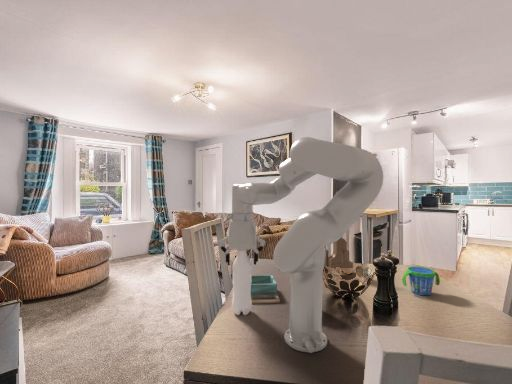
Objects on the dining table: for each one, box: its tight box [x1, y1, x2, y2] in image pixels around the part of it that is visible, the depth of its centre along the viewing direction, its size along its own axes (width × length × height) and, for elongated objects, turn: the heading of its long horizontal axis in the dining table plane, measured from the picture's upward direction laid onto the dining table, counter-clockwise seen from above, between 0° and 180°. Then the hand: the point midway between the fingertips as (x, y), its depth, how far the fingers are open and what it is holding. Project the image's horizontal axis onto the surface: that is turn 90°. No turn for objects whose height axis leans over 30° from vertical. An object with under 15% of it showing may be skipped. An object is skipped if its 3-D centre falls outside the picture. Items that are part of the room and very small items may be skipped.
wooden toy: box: [324, 236, 354, 269], centre depth 144 cm, size 16×7×25 cm, turn 109°
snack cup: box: [401, 266, 441, 296], centre depth 118 cm, size 16×10×10 cm
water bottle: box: [231, 249, 253, 316], centre depth 99 cm, size 7×7×25 cm
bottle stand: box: [251, 274, 281, 305], centre depth 115 cm, size 16×13×6 cm
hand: (241, 264), depth 99 cm, fingers open, 9 cm apart
